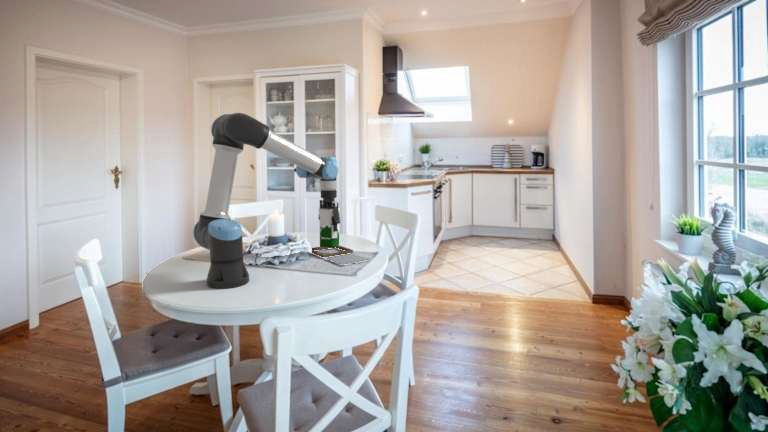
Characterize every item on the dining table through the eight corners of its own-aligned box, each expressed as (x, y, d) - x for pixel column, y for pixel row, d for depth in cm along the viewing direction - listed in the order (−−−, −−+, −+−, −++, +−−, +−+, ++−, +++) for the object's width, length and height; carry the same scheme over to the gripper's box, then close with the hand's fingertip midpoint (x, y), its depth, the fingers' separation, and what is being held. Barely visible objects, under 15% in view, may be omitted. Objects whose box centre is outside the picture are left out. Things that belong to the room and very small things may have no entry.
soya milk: (341, 244, 214) (341, 203, 211) (334, 248, 206) (333, 205, 203) (325, 243, 217) (324, 203, 214) (316, 247, 208) (316, 205, 205)
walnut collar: (353, 254, 211) (353, 249, 210) (323, 259, 201) (323, 254, 201) (335, 248, 223) (335, 244, 223) (307, 252, 214) (307, 248, 213)
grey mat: (368, 261, 197) (368, 259, 197) (342, 266, 188) (342, 264, 188) (351, 255, 208) (351, 253, 208) (325, 260, 199) (325, 257, 199)
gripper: (347, 190, 201) (348, 239, 204) (324, 187, 218) (324, 232, 222) (333, 191, 197) (334, 241, 200) (310, 188, 214) (311, 233, 217)
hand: (329, 236), depth 211 cm, fingers closed on soya milk, 9 cm apart
